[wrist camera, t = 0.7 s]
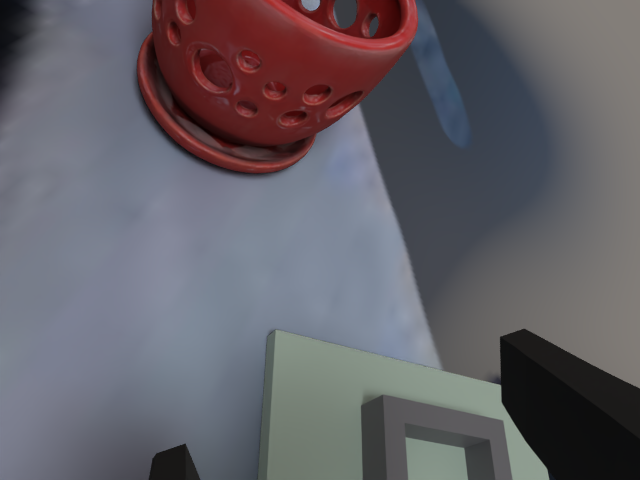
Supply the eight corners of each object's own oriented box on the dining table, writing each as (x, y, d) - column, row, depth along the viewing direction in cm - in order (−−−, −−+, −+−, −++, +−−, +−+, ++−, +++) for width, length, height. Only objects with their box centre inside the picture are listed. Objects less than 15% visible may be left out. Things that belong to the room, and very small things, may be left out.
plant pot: (339, 193, 39) (460, 68, 30) (140, 190, 32) (226, 22, 23) (284, 43, 44) (375, -102, 35) (101, 9, 36) (160, -187, 28)
